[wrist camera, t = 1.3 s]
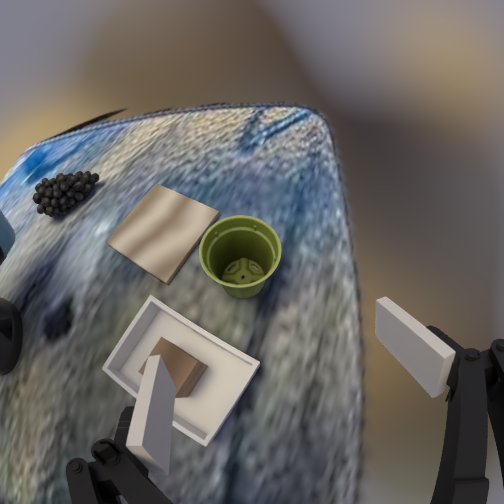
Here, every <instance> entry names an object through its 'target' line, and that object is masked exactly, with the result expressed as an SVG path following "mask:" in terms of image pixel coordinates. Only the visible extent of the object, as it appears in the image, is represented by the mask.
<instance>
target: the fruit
mask: <svg viewBox="0 0 504 504" xmlns="http://www.w3.org/2000/svg"><path fill="white" fill-rule="evenodd" d="M98 180H99V175H98V174H97V173H94V174H92V175H91V173H90V172H89V171H87V172H85V173H84V174H83V173H82V172H81V171H79V172H77V173H76V174H75V175H73V174H71V173H69V174H68V175H63V174H62V173H59V174H58V175H57V176H56V179H55V178H52V179H50V180H48V179H47V178H44V179H43V180H42V184H41V183H39V184H37V185H36V187H35V190H36V191H37V192H38V193H35V194H34V196H33V200H34V202H35V203H36V204H39V205H38V207H37V212H38V213H39V214H42V213H45V214H46V215H49V216H50V217H53V216H55V214H58V213H59V214H61V215H62V216H64V215H66V214H67V207H68V208H71V207H72V206H73V204H75V202H76V201H75V199H77V200H78V201H80V200H82V199H83V198H84V195H85V196H87V195H89V193H90V191H91V189H93V188H94V187H95V182H97V181H98ZM41 202H42V203H41Z"/></svg>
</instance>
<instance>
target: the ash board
mask: <svg viewBox="0 0 504 504" xmlns="http://www.w3.org/2000/svg"><path fill="white" fill-rule="evenodd" d="M219 215H220V214H219V211H217V210H215V209H213V208H210V207H208V206H206V205H204V204H202V203H199V202H197V201H195V200H193V199H190V198H188V197H186V196H184V195H181V194H179V193H177V192H175V191H172V190H170V189H168V188H166V187H163V186H161V185H159V184H155V185H154V186H153V187H152V189H151V190H150V191H149V192H148V193H147V194H146V195H145V196H144V197H143V199H142V200H141V201H140V202H139V203H138V204H137V205H136V206H135V208H134V209H133V210H132V211H131V212H130V213H129V215H128V216H127V217H126V218H125V219H124V221H123V222H122V223H121V224H120V225H119V227H118V228H117V229H116V230H115V231H114V233H113V234H112V235H111V236H110V238H109V239H108V240H107V242H106V243H107V244H108V245H109V246H110V247H112V248H113V249H115V250H116V251H117V252H119V253H120V254H122V255H123V256H125V257H126V258H127V259H129V260H130V261H132V262H133V263H135V264H136V265H138V266H139V267H141V268H142V269H144V270H145V271H147V272H148V273H150V274H151V275H153V276H154V277H156V278H157V279H159V280H160V281H162V282H163V283H165V284H167V285H169V283H170V282H171V280H172V279H173V278H174V276H175V275H176V273H177V272H178V271H179V269H180V268H181V267H182V265H183V264H184V262H185V261H186V260H187V258H188V257H189V256H190V254H191V253H192V251H193V250H194V249H195V247H196V246H197V245H198V243H199V242H200V241H201V239H202V238H203V236H204V234H205V233H206V231H207V230H208V229H209V228H210V227H211V226H212V225H213V223H214V222H215V221H216V219H217V218H218V217H219Z"/></svg>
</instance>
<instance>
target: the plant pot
mask: <svg viewBox="0 0 504 504" xmlns="http://www.w3.org/2000/svg"><path fill="white" fill-rule="evenodd" d="M280 258H281V243H280V240H279V237H278V236H277V234H276V232H275V231H274V230H273V229H272V228H271V227H270V226H269V225H268V224H267V223H265V222H264V221H262V220H260V219H257V218H254V217H250V216H240V215H238V216H231V217H228V218H225V219H222V220H220V221H218V222H216V223H215V224H214V225H212V226H211V227H210V228H209V229H208V230H207V231H206V233H205V234H204V236H203V238H202V240H201V243H200V247H199V259H200V262H201V265H202V267H203V269H204V271H205V272H206V273H207V275H208V276H209V277H210V278H211V279H213V280H214V281H216V282H217V283H219V284H221V285H222V286H223V287H224V289H225V290H226V291H227V292H228V293H229V294H230V295H232V296H233V297H236V298H250V297H253V296H255V295H256V294H258V293H259V292H260V291H261V289H262V288H263V286H264V284H265V281H266V279H267V278H268V277H270V276H271V274H272V273H273V272H274V271H275V269H276V268H277V266H278V264H279V261H280ZM232 265H236V266H235V267H233V268H232V269H231V270H230V271H229V270H228V269H229V268H230V267H231V266H232ZM251 265H255V266H256V267H257V268H258V271H256V270H255V268H254V267H252V266H251ZM242 276H245V278H244V279H242V278H241V277H242Z"/></svg>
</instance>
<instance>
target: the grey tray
mask: <svg viewBox="0 0 504 504" xmlns="http://www.w3.org/2000/svg"><path fill="white" fill-rule="evenodd" d="M161 337H163V338H165V339H166V340H168V341H170V342H171V343H173V344H175V345H176V346H178V347H179V348H181V349H182V350H184V351H185V352H187V353H189V354H190V355H192V356H193V357H195V358H196V359H198V360H199V361H201V362H203V363H204V364H206V365H207V366H208V367H207V369H206V370H205V372H204V373H203V375H202V376H201V378H200V379H199V381H198V383H197V384H196V386H195V387H194V389H193V390H192V392H191V393H190V395H189V396H188V397H186V398H175V404H174V414H173V424H172V425H173V426H174V427H176V428H177V429H179V430H180V431H182V432H183V433H185V434H186V435H188V436H189V437H191V438H192V439H194V440H196V441H197V442H199V443H201V444H202V445H204V446H207V445H208V444H209V443H210V442H211V441H212V440H213V439H214V437H215V436H216V434H217V433H218V431H219V430H220V428H221V427H222V425H223V424H224V422H225V421H226V419H227V418H228V416H229V415H230V413H231V412H232V410H233V408H234V407H235V405H236V404H237V402H238V401H239V399H240V397H241V396H242V394H243V393H244V391H245V389H246V388H247V386H248V385H249V383H250V381H251V380H252V378H253V376H254V375H255V373H256V371H257V370H258V368H259V366H260V362H259V361H257V360H255V359H253V358H252V357H250V356H248V355H246V354H244V353H243V352H241V351H239V350H237V349H236V348H234V347H232V346H230V345H229V344H227V343H225V342H224V341H222V340H220V339H218V338H217V337H215V336H213V335H212V334H210V333H209V332H207V331H205V330H204V329H202V328H200V327H199V326H197V325H196V324H194V323H192V322H191V321H189V320H188V319H186V318H185V317H183V316H181V315H180V314H178V313H177V312H175V311H174V310H172V309H171V308H169V307H168V306H166V305H165V304H163V303H162V302H160V301H159V300H157V299H156V298H154V297H153V296H151V295H150V296H149V298H148V299H147V301H146V302H145V303H144V305H143V306H142V308H141V309H140V311H139V312H138V314H137V315H136V317H135V318H134V320H133V321H132V322H131V324H130V325H129V327H128V328H127V330H126V331H125V333H124V335H123V336H122V338H121V339H120V341H119V342H118V344H117V345H116V347H115V348H114V350H113V351H112V353H111V355H110V356H109V358H108V359H107V361H106V362H105V364H104V366H103V367H102V370H104V371H105V372H106V373H107V374H108V375H109V376H110V377H111V378H112V379H114V380H115V381H116V382H117V383H118V384H119V385H120V386H122V387H123V388H124V389H125V390H126V391H128V392H129V393H130V394H131V395H132V396H134V397H135V398H136V399H137V396H138V392H139V389H140V385H141V381H142V377H143V375H142V374H140V373H139V372H138V371H139V370H140V368H141V367H142V365H143V364H144V362H145V361H146V359H147V358H148V356H149V354H150V353H151V351H152V350H153V348H154V347H155V345H156V344H157V342H158V341H159V339H160V338H161Z"/></svg>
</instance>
